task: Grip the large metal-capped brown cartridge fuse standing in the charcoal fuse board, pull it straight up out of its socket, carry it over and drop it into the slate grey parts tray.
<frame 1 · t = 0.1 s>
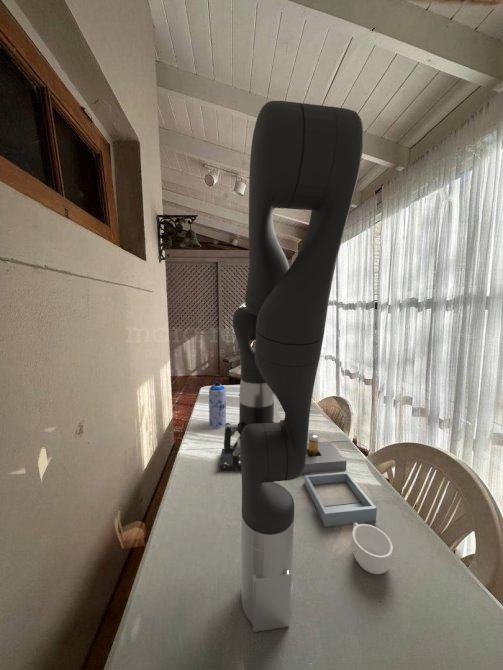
hand: (255, 467, 59), 17 cm above the table, tool pointing down, fingers open, 8 cm apart
fuse board: (312, 463, 89), on the table
aerosol can: (217, 425, 118), on the table
parts tray: (337, 502, 72), on the table
disk drive: (242, 464, 90), on the table
teacup: (367, 558, 56), on the table
fuse: (312, 460, 89), point 1 cm above the table, touching fuse board
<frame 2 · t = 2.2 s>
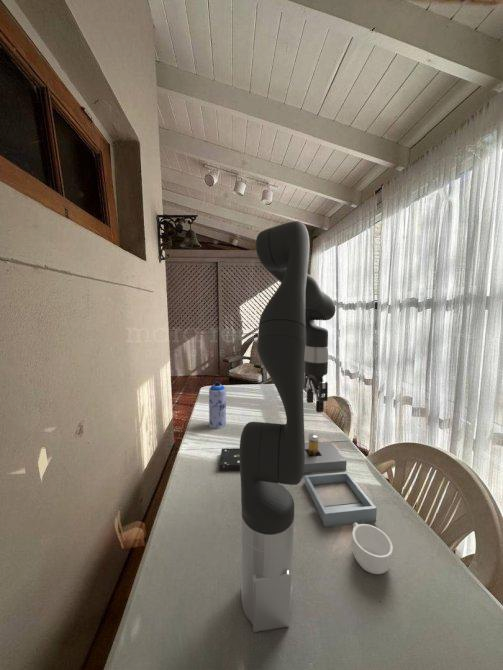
hand: (314, 406, 87), 20 cm above the table, tool pointing down, fingers open, 8 cm apart
nothing on the table moved.
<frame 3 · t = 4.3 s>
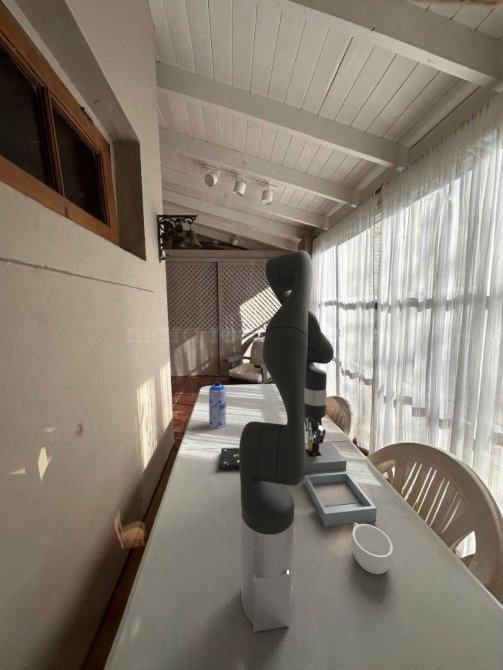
hand: (313, 449, 89), 5 cm above the table, tool pointing down, fingers closed on fuse, 3 cm apart
fuse: (312, 460, 89), point 1 cm above the table, touching fuse board, gripper
everything else where it was.
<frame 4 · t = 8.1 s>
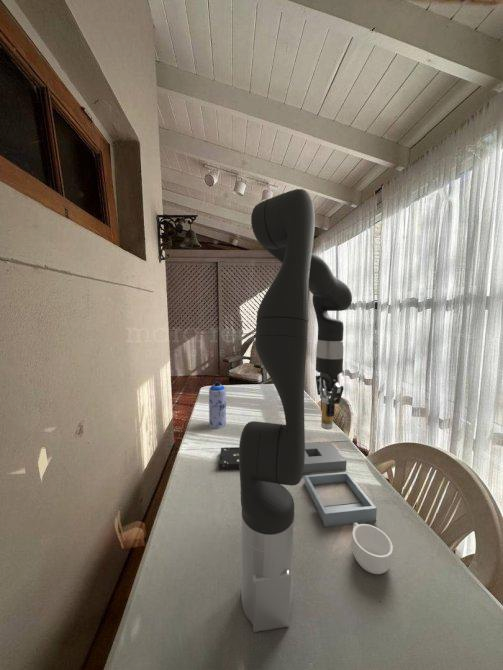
hand: (327, 413, 77), 22 cm above the table, tool pointing down, fingers closed on fuse, 3 cm apart
fuse: (326, 427, 77), point 18 cm above the table, touching gripper
everything else where it was.
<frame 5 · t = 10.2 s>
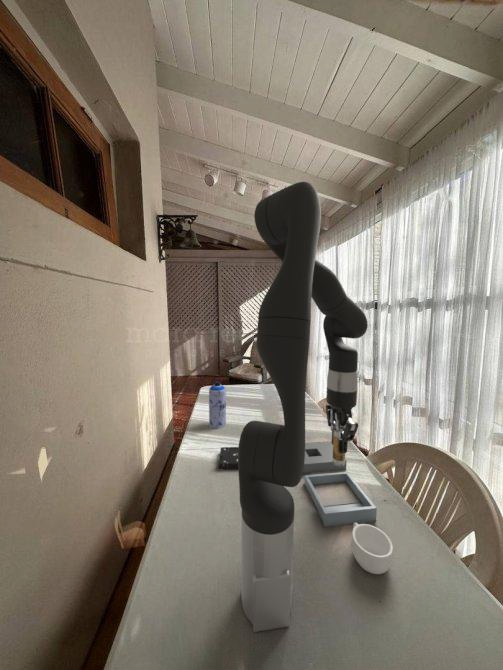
hand: (339, 448, 70), 16 cm above the table, tool pointing down, fingers closed on fuse, 3 cm apart
fuse: (338, 462, 71), point 11 cm above the table, touching gripper
when the fingers open (7 cm above the table, at t = 12.0 s): fuse drops 2 cm, resting on parts tray.
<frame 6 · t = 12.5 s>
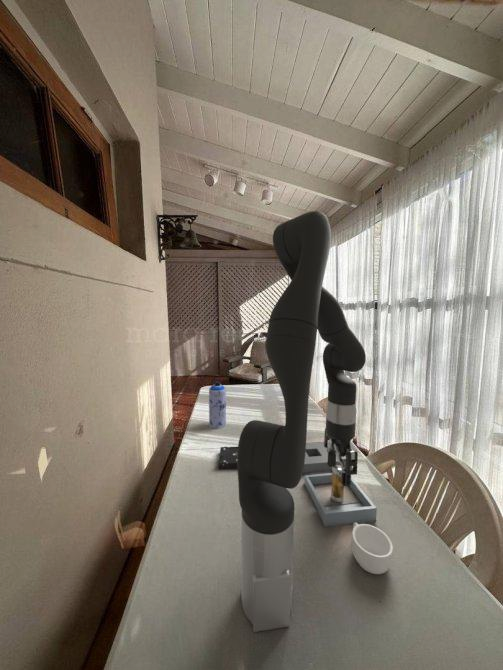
hand: (338, 474, 71), 8 cm above the table, tool pointing down, fingers open, 8 cm apart
fuse: (337, 499, 72), point 1 cm above the table, touching parts tray
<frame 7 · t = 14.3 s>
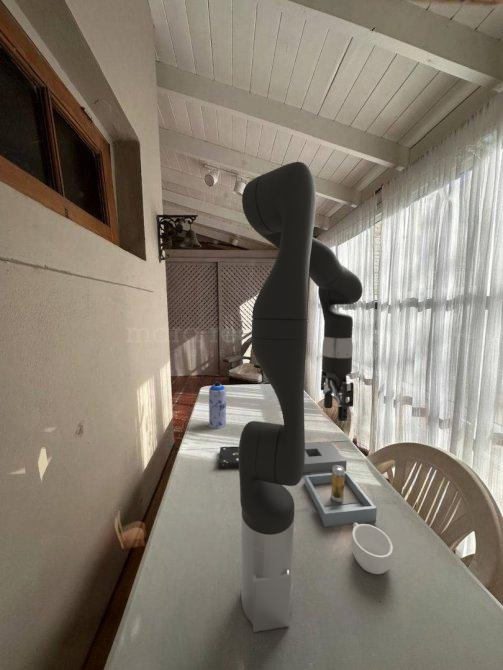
hand: (334, 413, 70), 25 cm above the table, tool pointing down, fingers open, 8 cm apart
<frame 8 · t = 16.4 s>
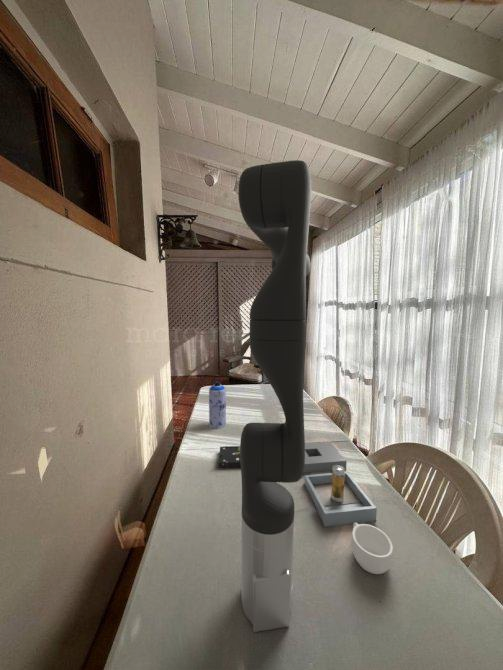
hand: (288, 380, 76), 32 cm above the table, tool pointing down, fingers open, 8 cm apart
at the end: fuse inside the target area on the parts tray (0.0 cm from its centre), point 0.8 cm above the parts tray's base; the gripper is holding nothing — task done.
